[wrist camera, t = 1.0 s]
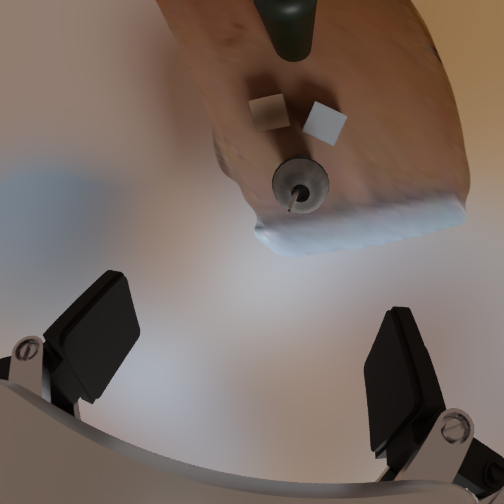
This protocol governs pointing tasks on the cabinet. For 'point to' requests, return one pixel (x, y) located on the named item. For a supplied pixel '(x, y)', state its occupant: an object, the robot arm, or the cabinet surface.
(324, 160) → the cabinet surface
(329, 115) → the light grey cube
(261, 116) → the walnut block
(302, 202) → the beverage cup
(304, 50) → the wine bottle
